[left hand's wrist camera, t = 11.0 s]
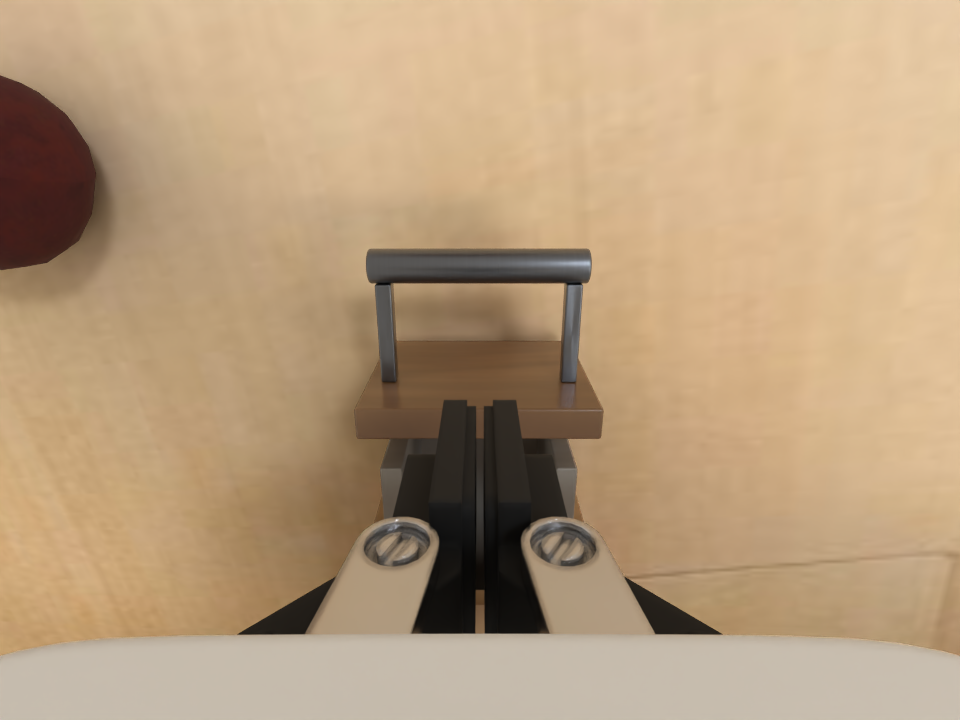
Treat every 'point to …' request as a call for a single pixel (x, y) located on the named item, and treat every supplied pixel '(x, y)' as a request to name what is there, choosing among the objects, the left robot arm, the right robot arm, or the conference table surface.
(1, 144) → the potato
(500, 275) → the drawer
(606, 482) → the conference table surface
